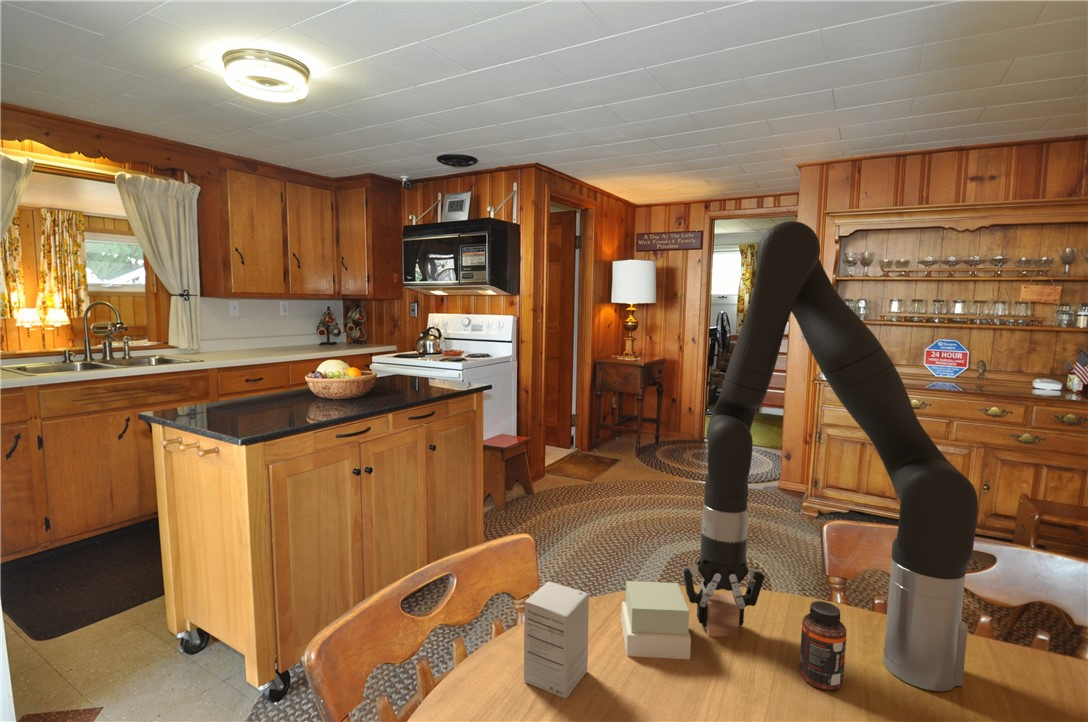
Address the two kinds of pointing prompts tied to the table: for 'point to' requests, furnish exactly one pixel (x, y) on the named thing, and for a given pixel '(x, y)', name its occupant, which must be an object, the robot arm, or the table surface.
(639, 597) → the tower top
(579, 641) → the supplement box
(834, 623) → the supplement bottle
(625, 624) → the tower base
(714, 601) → the terracotta cube
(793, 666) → the table surface
